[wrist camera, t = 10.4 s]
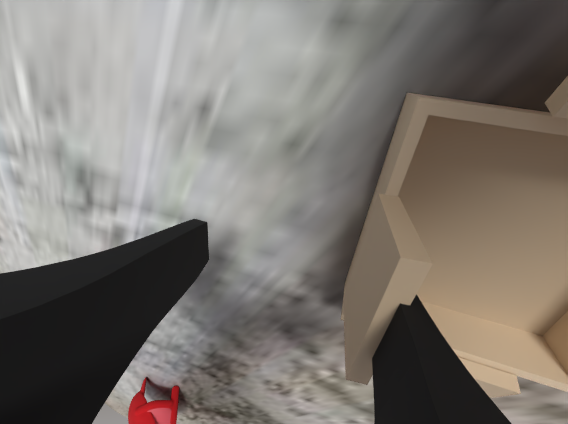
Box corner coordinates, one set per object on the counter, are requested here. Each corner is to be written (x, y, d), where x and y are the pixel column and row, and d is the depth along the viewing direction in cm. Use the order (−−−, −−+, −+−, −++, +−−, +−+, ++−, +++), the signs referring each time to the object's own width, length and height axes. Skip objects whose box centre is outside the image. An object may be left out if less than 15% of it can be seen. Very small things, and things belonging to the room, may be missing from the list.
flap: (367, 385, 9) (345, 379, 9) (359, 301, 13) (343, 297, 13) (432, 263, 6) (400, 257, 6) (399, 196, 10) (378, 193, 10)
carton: (574, 395, 16) (629, 480, 13) (333, 318, 19) (325, 370, 16) (901, 161, 8) (1269, 219, 5) (406, 92, 11) (423, 99, 8)
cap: (181, 418, 30) (121, 428, 27) (174, 457, 31) (117, 469, 28) (183, 363, 37) (136, 367, 35) (177, 396, 38) (132, 403, 36)
